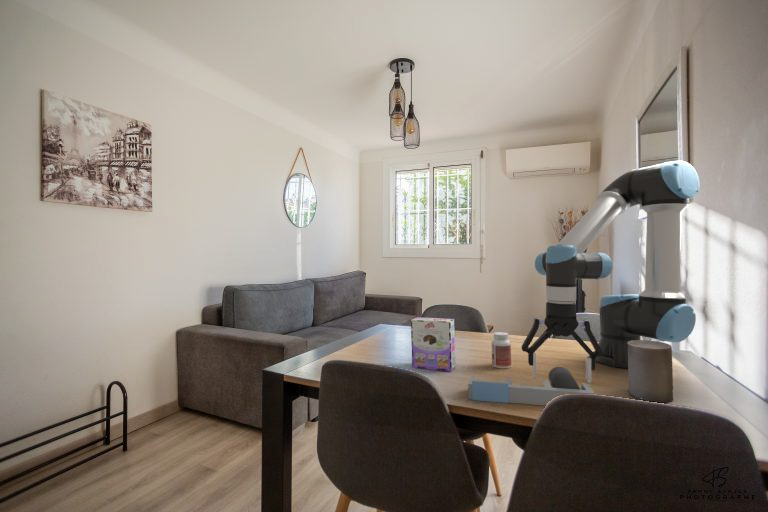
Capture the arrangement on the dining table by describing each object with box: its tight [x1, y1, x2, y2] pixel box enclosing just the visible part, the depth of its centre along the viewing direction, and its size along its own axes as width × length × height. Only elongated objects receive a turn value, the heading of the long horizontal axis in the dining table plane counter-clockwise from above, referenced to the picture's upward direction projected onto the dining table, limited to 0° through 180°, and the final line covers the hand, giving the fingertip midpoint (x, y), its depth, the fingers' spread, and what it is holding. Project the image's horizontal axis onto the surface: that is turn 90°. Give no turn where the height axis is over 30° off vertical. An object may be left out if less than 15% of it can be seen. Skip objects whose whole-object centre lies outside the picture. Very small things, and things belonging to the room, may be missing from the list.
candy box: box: [410, 316, 456, 372], centre depth 128 cm, size 14×6×16 cm, turn 65°
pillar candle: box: [627, 338, 674, 403], centre depth 100 cm, size 10×10×15 cm
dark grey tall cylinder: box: [548, 366, 581, 390], centre depth 101 cm, size 12×6×6 cm, turn 164°
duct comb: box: [468, 375, 596, 406], centre depth 99 cm, size 30×7×5 cm, turn 74°
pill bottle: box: [491, 331, 512, 370], centre depth 127 cm, size 6×6×11 cm
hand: (560, 379), depth 104 cm, fingers open, 13 cm apart
